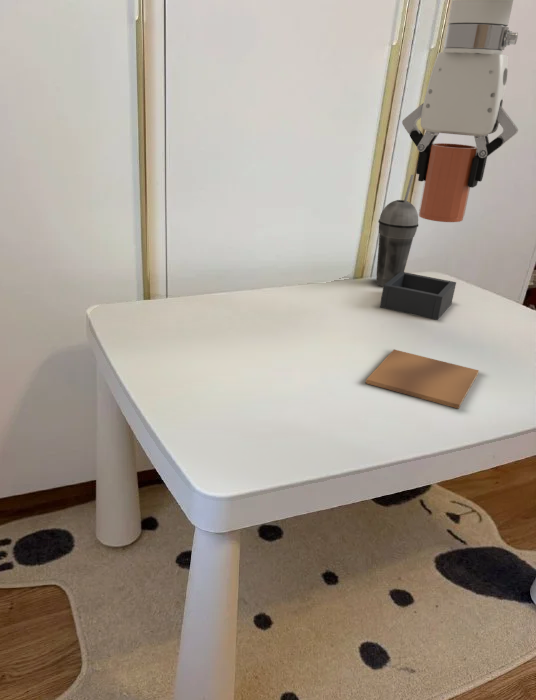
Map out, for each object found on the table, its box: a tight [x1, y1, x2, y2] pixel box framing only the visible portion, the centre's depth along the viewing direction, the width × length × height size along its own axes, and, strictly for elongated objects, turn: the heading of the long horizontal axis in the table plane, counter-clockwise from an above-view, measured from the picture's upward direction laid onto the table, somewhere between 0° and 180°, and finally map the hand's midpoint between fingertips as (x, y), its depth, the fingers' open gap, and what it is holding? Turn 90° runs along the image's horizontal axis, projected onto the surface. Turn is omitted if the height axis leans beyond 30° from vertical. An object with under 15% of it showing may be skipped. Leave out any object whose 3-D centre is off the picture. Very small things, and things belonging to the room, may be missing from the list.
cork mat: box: [365, 349, 480, 410], centre depth 84 cm, size 12×12×1 cm
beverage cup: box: [375, 174, 419, 287], centre depth 117 cm, size 7×7×20 cm
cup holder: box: [379, 271, 457, 321], centre depth 110 cm, size 10×10×4 cm
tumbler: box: [418, 142, 478, 223], centre depth 92 cm, size 6×6×10 cm
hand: (447, 182), depth 92 cm, fingers closed on tumbler, 6 cm apart
